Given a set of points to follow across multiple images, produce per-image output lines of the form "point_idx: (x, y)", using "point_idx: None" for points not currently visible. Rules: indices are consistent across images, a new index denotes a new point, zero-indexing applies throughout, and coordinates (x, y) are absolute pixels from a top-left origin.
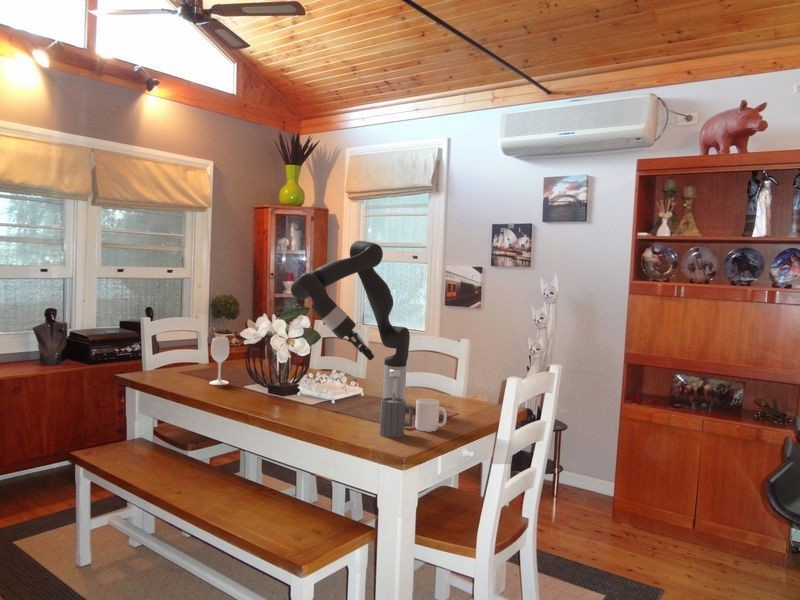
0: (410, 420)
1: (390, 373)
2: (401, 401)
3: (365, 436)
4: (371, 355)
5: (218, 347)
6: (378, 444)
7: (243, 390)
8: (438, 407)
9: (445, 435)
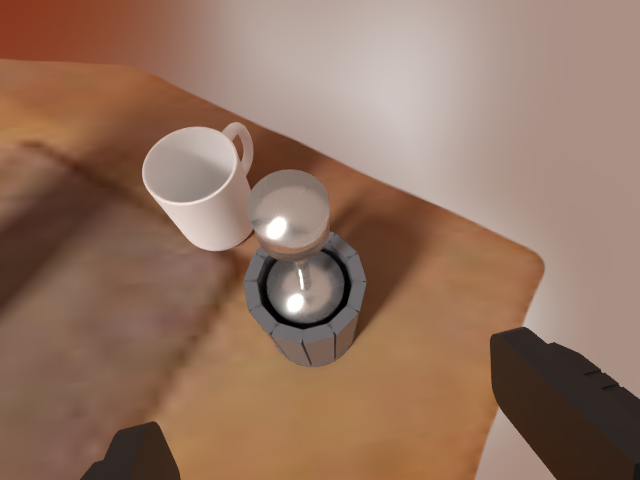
0: None
1: (314, 242)
2: None
3: (366, 418)
4: (582, 360)
5: None
6: (447, 353)
7: None
8: (228, 137)
9: (284, 166)
